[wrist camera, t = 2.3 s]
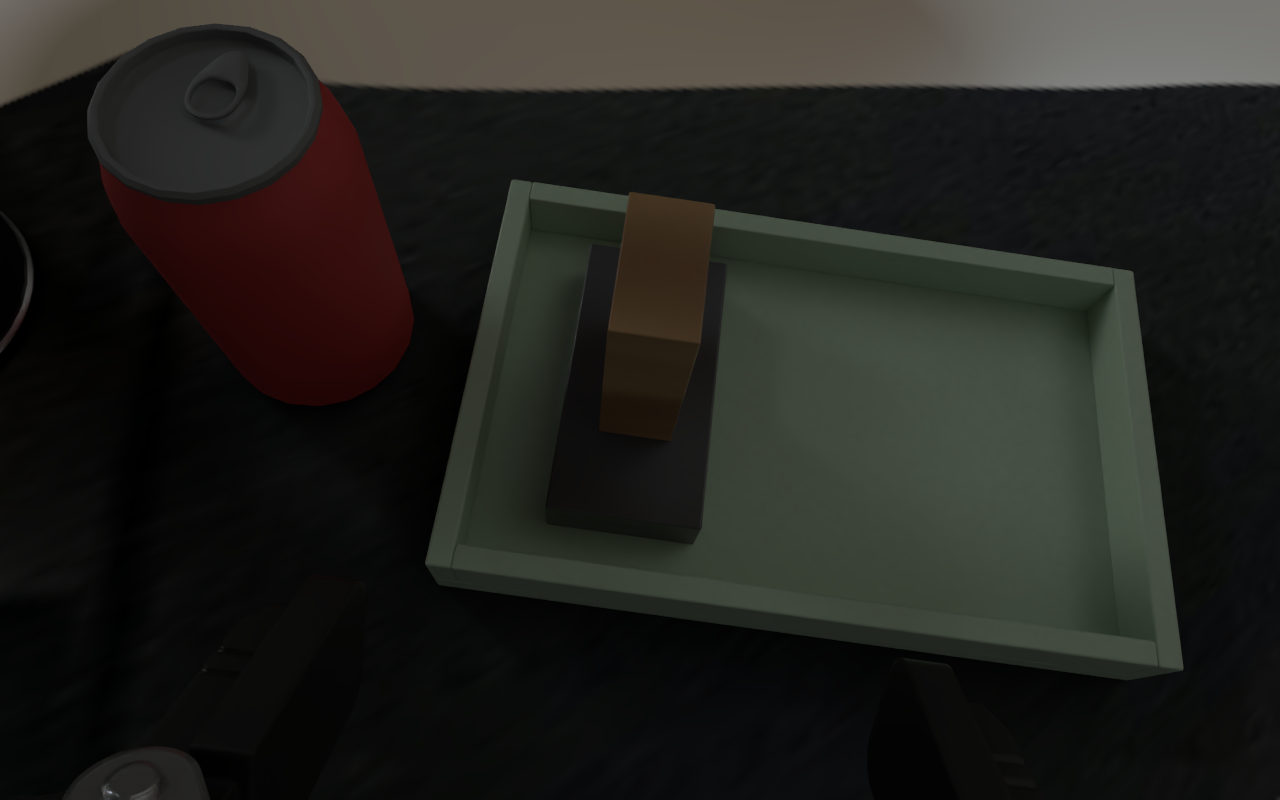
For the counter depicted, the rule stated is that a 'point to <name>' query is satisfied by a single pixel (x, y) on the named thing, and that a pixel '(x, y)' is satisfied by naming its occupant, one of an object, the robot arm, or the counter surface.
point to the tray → (844, 447)
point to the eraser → (642, 378)
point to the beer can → (255, 208)
